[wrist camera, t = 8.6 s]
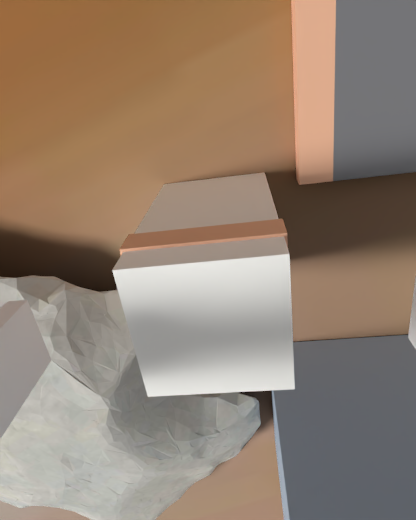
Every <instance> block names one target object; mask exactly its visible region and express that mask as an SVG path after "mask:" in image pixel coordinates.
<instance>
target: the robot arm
mask: <svg viewBox="0 0 416 520" xmlns="http://www.w3.org/2000/svg"><path fill="white" fill-rule="evenodd" d="M408 339H409V340H410V342H411V343H412V345H413V346H414V348H415V349H416V278H415V286H414V294H413V302H412V310H411V318H410V327H409V335H408ZM50 362H51V358H50V355H49V353H48V350H47V348H46V345H45V343H44V340H43V338H42V335H41V333H40V330H39V328H38V325H37V323H36V320H35V318H34V315H33V313H32V310H31V308H30V305H29V303H28V300H19V301H7V302H6V303H5V304H4V305H3V306H2V307H1V308H0V439H1V437H2V436H3V434H4V433H5V431H6V430H7V428H8V427H9V425H10V424H11V422H12V420H13V419H14V417H15V416H16V414H17V413H18V411H19V410H20V408H21V407H22V405H23V403H24V402H25V400H26V399H27V397H28V396H29V394H30V393H31V391H32V390H33V388H34V387H35V385H36V383H37V382H38V380H39V379H40V377H41V376H42V374H43V373H44V371H45V370H46V368H47V366H48V365H49V363H50Z"/></svg>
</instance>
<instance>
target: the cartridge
mask: <svg viewBox="0 0 416 520" xmlns="http://www.w3.org/2000/svg"><path fill="white" fill-rule="evenodd" d="M119 250H120V254H121V256H120V258H119V260H118V261H117V263H116V265H115V266H114V268H113V270H112V272H113V275H114V279H115V282H116V286H117V289H118V293H119V296H120V300H121V304H122V307H123V311H124V314H125V318H126V321H127V325H128V328H129V332H130V335H131V339H132V343H133V346H134V350H135V353H136V357H137V360H138V364H139V367H140V371H141V374H142V378H143V382H144V385H145V389H146V392H147V396H148V397H154V396H173V395H193V394H212V393H232V392H251V391H271V390H290V389H295V381H294V356H293V330H292V305H291V280H290V255H289V251H288V237H287V230H286V227H285V224H284V221H283V219H279V218H278V215H277V212H276V208H275V205H274V202H273V199H272V195H271V192H270V189H269V185H268V182H267V179H266V176H265V172H264V173H255V174H247V175H238V176H230V177H221V178H213V179H204V180H195V181H187V182H178V183H170V184H164V185H163V187H162V188H161V190H160V192H159V193H158V195H157V197H156V198H155V200H154V202H153V203H152V205H151V207H150V208H149V210H148V211H147V213H146V215H145V216H144V218H143V220H142V221H141V223H140V225H139V226H138V228H137V230H136V231H135V233H134V234H129V235H128V236H127V238H126V240H125V241H124V243H123V244H122V246H121V248H120V249H119Z"/></svg>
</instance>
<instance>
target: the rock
mask: <svg viewBox="0 0 416 520" xmlns="http://www.w3.org/2000/svg"><path fill="white" fill-rule="evenodd" d="M19 300H28V303H29V305H30V308H31V310H32V313H33V315H34V318H35V320H36V323H37V325H38V328H39V330H40V333H41V335H42V338H43V340H44V343H45V345H46V348H47V350H48V353H49V355H50V358H51V362H50V363H49V365H48V366H47V368H46V370H45V371H44V373H43V374H42V376H41V377H40V379H39V380H38V382H37V383H36V385H35V387H34V388H33V390H32V391H31V393H30V394H29V396H28V397H27V399H26V400H25V402H24V403H23V405H22V407H21V408H20V410H19V411H18V413H17V414H16V416H15V417H14V419H13V420H12V422H11V424H10V425H9V427H8V428H7V430H6V431H5V433H4V434H3V436H2V437H1V439H0V501H3V502H6V503H8V504H11V505H14V506H16V507H18V508H24V507H29V506H48V507H56V508H61V509H65V510H70V511H74V512H76V513H78V514H80V515H82V516H85V517H88V518H90V519H91V520H155V519H156V518H157V517H158V516H159V515H160V514H161V513H162V512H163V511H164V510H165V509H166V508H167V507H169V506H170V505H171V504H173V503H174V502H175V501H177V500H178V499H180V498H181V496H182V495H183V494H184V493H185V491H186V490H187V489H188V488H189V487H190V486H192V485H193V484H194V483H195V482H197V481H199V480H201V479H203V478H205V477H207V476H209V475H210V474H211V473H212V472H213V470H214V469H215V467H216V466H217V465H218V464H220V463H222V462H225V461H227V460H229V459H231V458H233V457H235V456H236V455H237V454H238V453H239V452H240V451H241V449H242V448H243V447H244V446H245V445H246V443H247V442H248V441H249V440H250V439H251V437H252V436H253V435H254V433H255V432H256V430H257V429H258V428H259V426H260V425H261V422H260V411H259V401H258V400H257V399H256V398H255V397H251V396H247V395H244V394H240V393H236V392H232V393H212V394H193V395H173V396H154V397H148V396H147V392H146V389H145V385H144V382H143V378H142V374H141V371H140V367H139V364H138V360H137V357H136V353H135V350H134V346H133V343H132V339H131V335H130V332H129V328H128V325H127V321H126V318H125V314H124V311H123V307H122V304H121V300H120V296H119V293H118V289H117V290H112V291H103V292H97V291H93V290H89V289H85V288H82V287H78V286H75V285H73V284H70V283H68V282H65V281H63V280H61V279H59V278H57V277H55V276H35V275H32V276H25V277H18V278H10V277H0V308H1V307H2V306H3V305H4V304H5V303H6V302H7V301H19Z"/></svg>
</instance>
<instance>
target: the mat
mask: <svg viewBox="0 0 416 520" xmlns="http://www.w3.org/2000/svg"><path fill="white" fill-rule="evenodd" d="M291 6H292V41H293V77H294V113H295V149H296V179H297V181H298V183H299V185H303V184H312V183H321V182H330V181H339V180H348V179H357V178H365V177H374V176H383V175H392V174H401V173H410V172H416V0H291Z"/></svg>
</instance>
